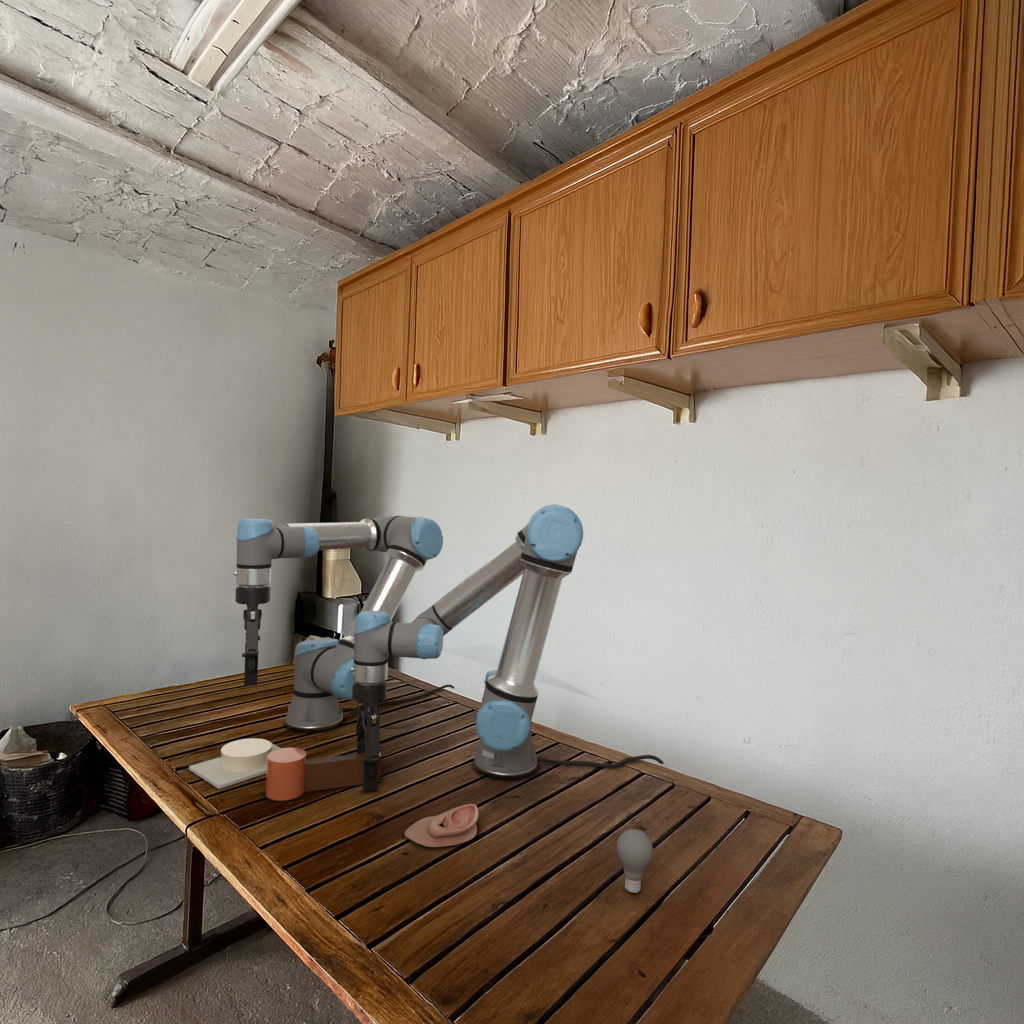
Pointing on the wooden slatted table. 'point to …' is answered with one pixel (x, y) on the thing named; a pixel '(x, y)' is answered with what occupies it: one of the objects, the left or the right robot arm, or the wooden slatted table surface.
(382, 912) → the wooden slatted table surface
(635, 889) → the light bulb
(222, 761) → the cap
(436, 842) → the anatomical model
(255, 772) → the grey mat
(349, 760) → the orange handled cylinder
